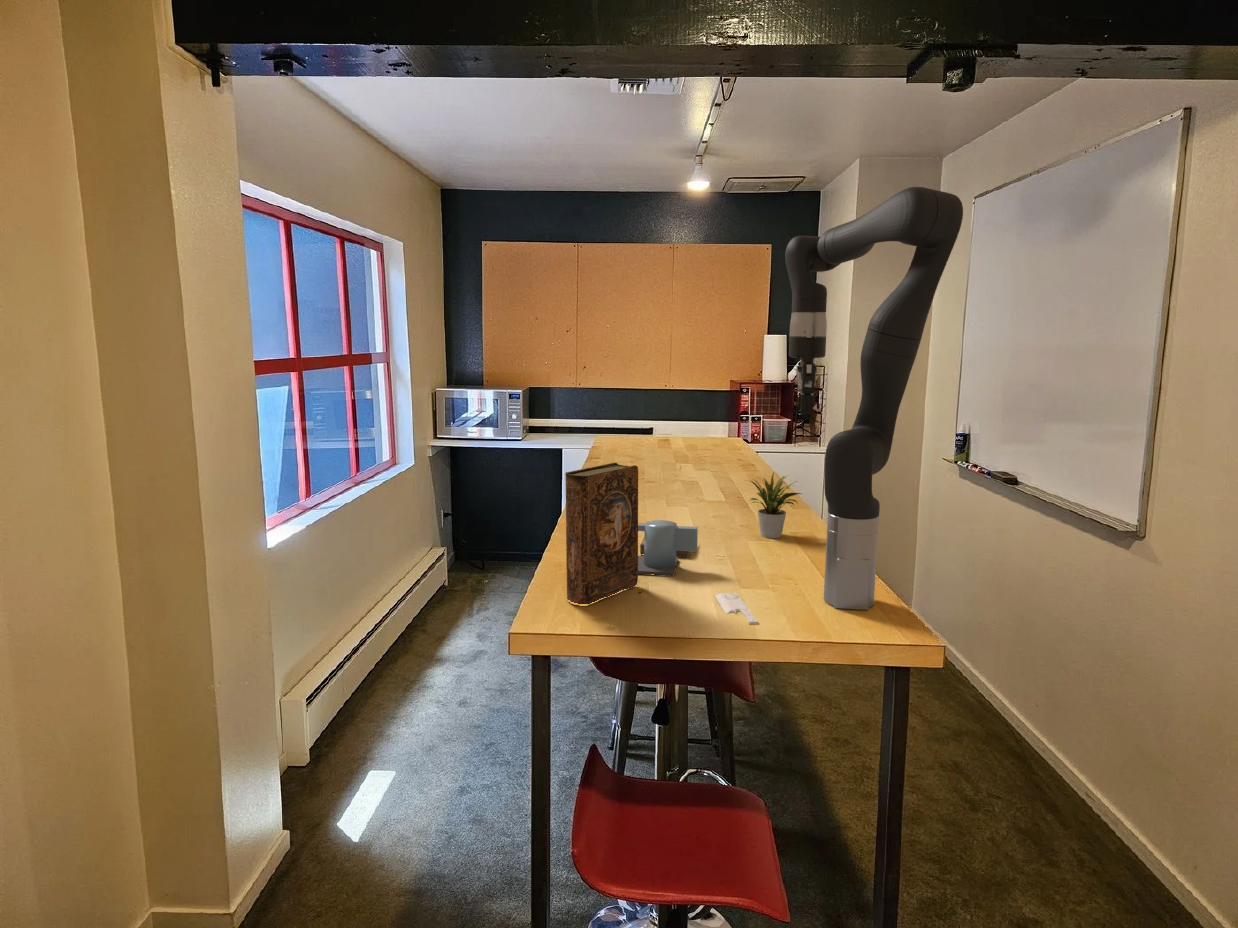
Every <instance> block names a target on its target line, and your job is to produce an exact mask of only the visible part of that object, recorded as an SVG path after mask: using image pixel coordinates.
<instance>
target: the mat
mask: <svg viewBox="0 0 1238 928" xmlns="http://www.w3.org/2000/svg"><path fill="white" fill-rule="evenodd" d="M678 562H679V557H676V566H675V567H672V568H668V569H654V568H649V567H647V566H645V565H644V555H638V575H639V574H654V575H653V576H658V575H665V576H664V577H674V575H675V572H676V569H677V566H678Z"/></svg>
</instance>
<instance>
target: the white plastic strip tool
mask: <svg viewBox="0 0 1238 928" xmlns="http://www.w3.org/2000/svg"><path fill="white" fill-rule="evenodd" d="M714 597H715V598H716V600H717V602H718V603H719V605H720V606H721V608H722V610H723V611H724V613H725V614H726V615H727V614H730V613H732V614H734V615H735V614H737V612H739V613H741V615H743V616H744V617H745V619H746V621H747V623H748V625H758V624H759V622H758V619H756V617H755V616H754V614H753V613H752V611H751V610H750V609H749V607H748V606H747V604H746V603H745V602H744V600H743V599H742V598H741V597H740V595H739V594H738V592H721V593H720V592H719V593H718V594H715V595H714Z"/></svg>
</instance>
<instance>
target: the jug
mask: <svg viewBox="0 0 1238 928" xmlns="http://www.w3.org/2000/svg"><path fill="white" fill-rule="evenodd" d="M698 528H699V527H698V526H693V525H692V526H689V525H688V526H687V525H684V526H683V525H677V523H676V522H675V521H671V520H665V519H664V520H663V519H655V520H650V521H649V520H648V521H645V522H638V532H644V533H643V534H644V537H643V538H644V555H643V556H644V565H645V566H647V567H649V568H654V569H668V568H672V567H675V566H676V558H677V557H676V551H689V552H693V553H694V552H696V553H697V552H698V538H699V537H698V532H699V529H698ZM676 567H677V566H676Z"/></svg>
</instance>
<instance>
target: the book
mask: <svg viewBox="0 0 1238 928" xmlns="http://www.w3.org/2000/svg"><path fill="white" fill-rule="evenodd" d="M638 524H639V467H638V465H622V464H618V462H610V463H606V464H601V465H594V466H590V467H585V468H580V469H576V470H572V471H565V538H566V539H565V540H566V541H565V543H566V544H565V546H566V548H565V549H566V554H565V555H566V600H567V599H568V600H570V601H571V602H574V603H578V604H590V603H592V602H595V601H597V600H599V599H601V598H604V597H608V596H610V595H612V594H615V593H617V592H619V591H621V590H624V589H628V588H630V589H632V588H634V587H636V586H637V584H638V582H639V581H638V579H639V574H638V556H639V531H638ZM635 585H636V586H635ZM633 586H634V587H633ZM631 587H632V588H631ZM628 590H629V589H628Z"/></svg>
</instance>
